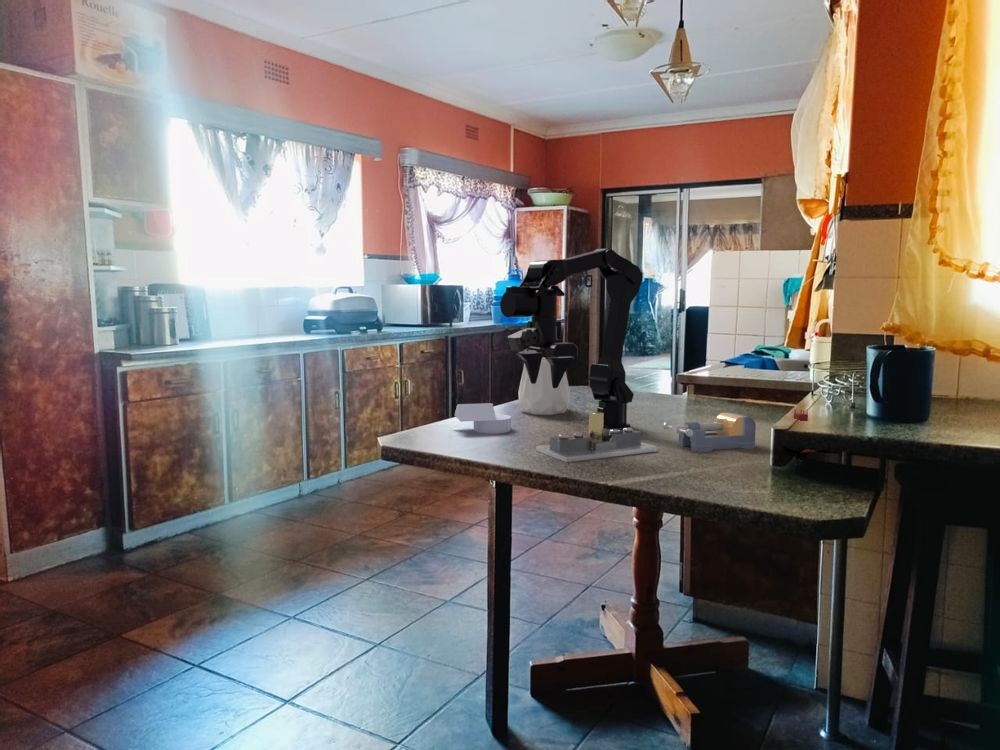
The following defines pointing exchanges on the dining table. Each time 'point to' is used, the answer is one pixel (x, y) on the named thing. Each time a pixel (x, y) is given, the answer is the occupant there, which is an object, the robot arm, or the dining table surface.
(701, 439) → the vise
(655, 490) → the dining table surface
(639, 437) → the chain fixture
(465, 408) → the wedge on round base
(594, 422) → the pin
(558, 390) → the vase
